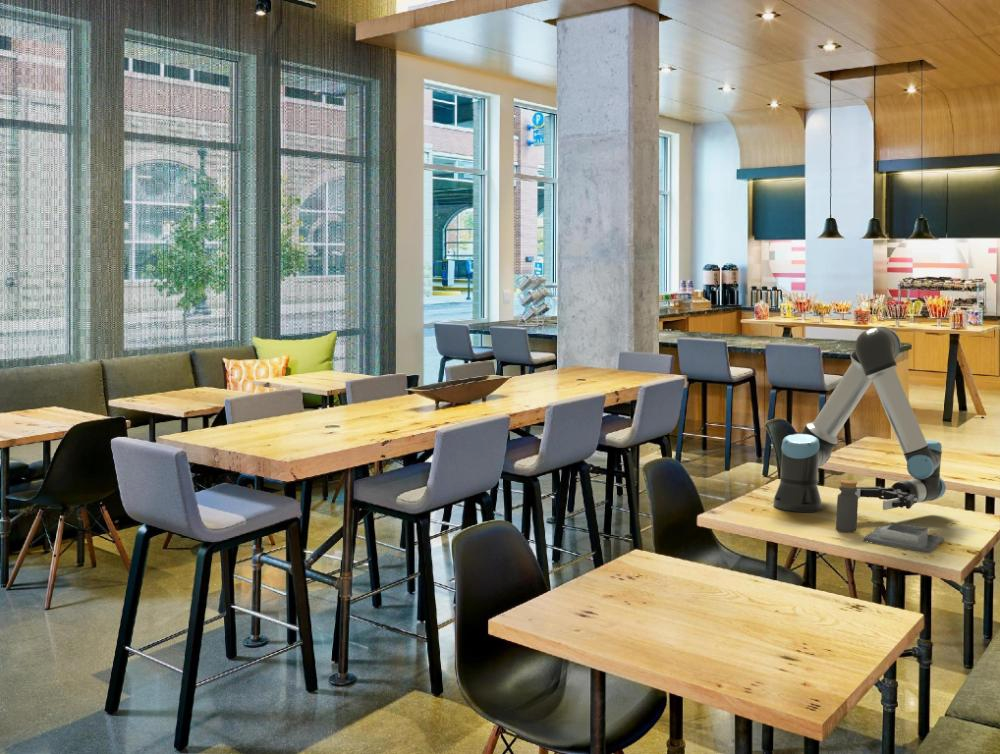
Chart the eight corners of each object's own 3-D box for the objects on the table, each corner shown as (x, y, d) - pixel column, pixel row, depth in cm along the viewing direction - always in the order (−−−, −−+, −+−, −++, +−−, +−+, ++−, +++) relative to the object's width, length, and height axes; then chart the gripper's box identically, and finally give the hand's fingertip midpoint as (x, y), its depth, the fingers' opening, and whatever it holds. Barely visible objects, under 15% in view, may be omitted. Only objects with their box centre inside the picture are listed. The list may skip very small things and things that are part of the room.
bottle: (832, 530, 295) (835, 481, 293) (839, 526, 300) (842, 478, 298) (852, 533, 291) (855, 484, 290) (858, 529, 296) (861, 481, 294)
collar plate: (863, 541, 284) (864, 528, 283) (880, 530, 296) (881, 518, 296) (928, 553, 273) (929, 540, 272) (943, 540, 285) (944, 528, 285)
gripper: (943, 512, 299) (899, 521, 288) (872, 496, 320) (830, 503, 308) (944, 488, 298) (901, 496, 287) (874, 473, 319) (831, 480, 308)
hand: (864, 500), depth 298 cm, fingers open, 13 cm apart
